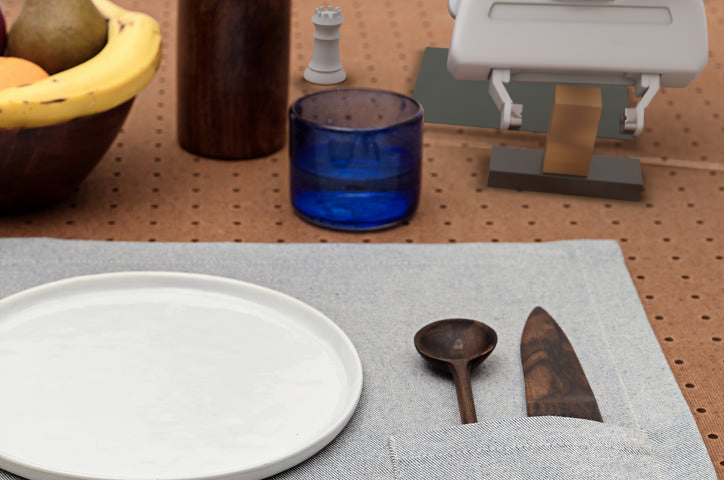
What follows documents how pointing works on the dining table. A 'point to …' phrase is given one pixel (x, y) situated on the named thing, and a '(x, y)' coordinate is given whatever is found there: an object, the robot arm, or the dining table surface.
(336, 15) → the rook chess piece
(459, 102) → the slate board
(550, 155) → the duster
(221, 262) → the dining table surface
